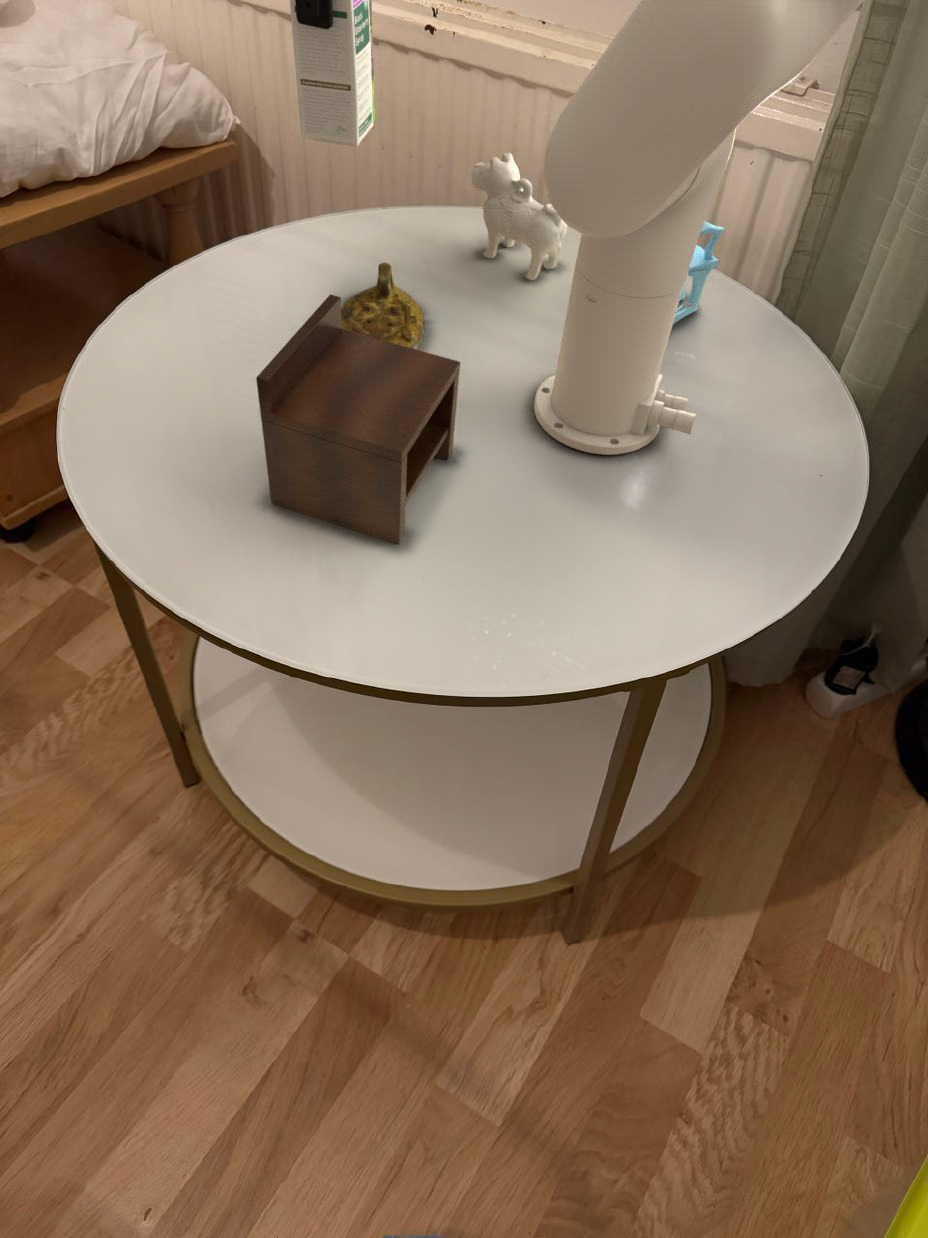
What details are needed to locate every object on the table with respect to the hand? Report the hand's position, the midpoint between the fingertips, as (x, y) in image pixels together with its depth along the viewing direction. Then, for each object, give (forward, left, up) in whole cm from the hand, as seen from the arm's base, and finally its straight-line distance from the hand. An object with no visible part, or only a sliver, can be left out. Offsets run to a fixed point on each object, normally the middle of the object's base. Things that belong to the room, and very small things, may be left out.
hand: (333, 11), depth 79 cm
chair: (-34, -13, -27) cm, 45 cm away
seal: (-7, +5, -27) cm, 28 cm away
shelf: (-15, +27, -27) cm, 41 cm away
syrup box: (0, 0, -10) cm, 10 cm away
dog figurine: (-15, -16, -27) cm, 35 cm away
